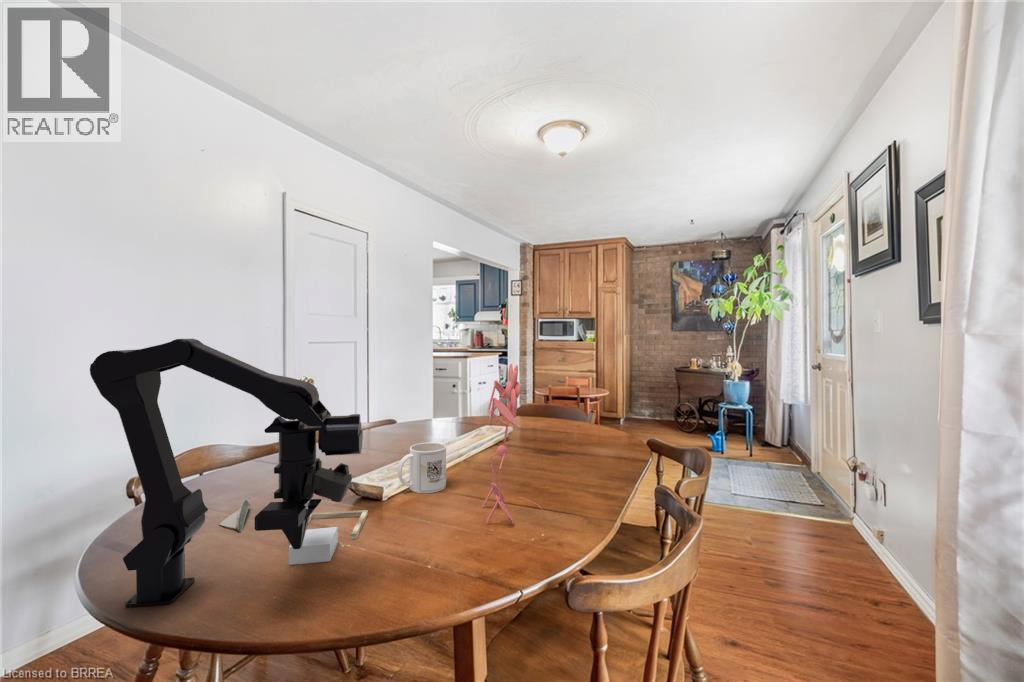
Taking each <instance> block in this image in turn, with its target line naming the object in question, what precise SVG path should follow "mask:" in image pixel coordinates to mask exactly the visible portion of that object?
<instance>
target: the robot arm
mask: <svg viewBox="0 0 1024 682" xmlns="http://www.w3.org/2000/svg"><path fill="white" fill-rule="evenodd" d="M181 366H184V367H186V368H189V369H190V370H193V371H196V372H198V373H199V374H203V375H204V376H207V377H209V378H212V379H214V380H216V381H218V382H221V383H224V384H226V385H229V386H230V387H232V388H236V389H238V390H240V391H242V392H245V393H247V394H250V395H251V396H253V397H254V398H255V399H257V400H259V402H261V403H262V404H263V406H265V408H267V409H269V410H270V411H271V412H273V413H275V414H277V415H278V416H276V417H274V419H273V421H272V422H271V424H270V425H268V426H267V427H266V428H264V430H263V431H264V433H265V434H273V433H275V434H276V433H278V464H277V465H275V466H274V467H273V474H277V475H278V489H276V490H275V491H274V492H273V499H275V500H276V499H278V500H279V499H282V501H270V502H269V503H268V504H267V505H266V506H264V507H263V509H261V510H260V511H259V512H258V513H257V514H256V515H255V516H254V530H255V531H256V532H258V531H259V532H260V531H278V530H279V531H280V530H281V531H282V532H283V534H284V536H285V538H286V539H287V541H289V542H290V545H291V546H292V547H293V549H300V548H301V546H302V544H303V540H304V536H305V532H306V529H307V527H308V525H309V523H308V521H309V517H310V515H311V513H314V511H315V509H316V508H317V507H318V506H319V504H321V502H322V500H323V499H322V498H314V495H316V496H319V497H323V498H326V499H329V500H331V502H334V503H340V502H342V501H343V500H344V497H345V496H346V495H347V493H348V490H349V487H350V485H351V482H352V481H353V480H352V479H353V477H352V476H353V475H352V474H350V469H349V465H348V464H346V463H342V462H341V463H339V464H338V465H337V466H336V467H335V468H334V469H333V468H332V467H329V468H325V467H323V466H322V464H323V463H322V460H321V458H320V457H317V447H318V450H319V451H320V452H321V453H323V454H324V455H325V456H343V455H345V456H346V455H361V454H362V448H363V439H364V437H363V434H364V431H363V429H362V422H361V414H359V413H353V414H349V415H332V413H331V412H330V411H329V410H328V408H327V407H326V406H325V405H324V404H323V402H322V401H321V400H320V394H319V391H318V388H317V387H316V386H315V385H314V384H312V383H310V382H308V381H304V380H301V379H296V378H293V377H288V376H284V375H277V374H273V373H269V372H267V371H265V370H262V369H261V368H258V367H256V366H254V365H252V364H249V363H246V362H245V361H242V360H240V359H237V358H236V357H233V356H231V355H228V354H227V353H224V352H221V351H220V350H217V349H215V348H213V347H211V346H209V345H207V344H204V343H203V342H201V340H199V339H196V338H176V339H174V340H171V341H170V342H169V341H168V342H166V343H162V344H157V345H153V346H152V345H151V346H148V347H144V348H140V349H139V348H138V349H124V350H108V351H105V352H103V353H101V354H99V355H98V356H97V357H96V358H95V359H94V361H93V362H92V363H90V366H89V374H90V377H91V380H92V382H93V383H94V384H95V385H94V386H96V388H97V391H99V394H100V395H101V396H102V397H103V398H104V399H105V400H106V402H108V403H109V404H110V405H111V406H112V407H113V408H114V409H116V410H117V412H118V415H119V418H120V421H121V424H122V427H123V431H124V433H125V437H126V439H127V443H128V446H129V450H130V453H131V456H132V460H133V463H134V466H135V468H136V472H137V476H138V479H139V482H140V485H141V488H142V491H143V495H144V505H143V509H142V514H141V520H140V524H141V525H140V526H141V533H142V534H141V535H142V540H141V541H140V542H138V544H136V545H135V546H134V547H133V548H132V549H131V550H130V551H129V552H128V553H127V554H126V555H124V556H123V558H122V561H123V563H124V565H125V567H126V569H127V571H135V576H136V577H135V580H136V581H135V584H136V585H135V586H136V587H135V590H136V591H135V592H136V593H135V594H134V595H133V596H132V597H131V598H130V599H128V600H127V601H125V603H124V607H125V608H128V607H145V606H155V605H156V606H158V605H169V604H171V603H173V602H174V601H175V600H176V599H177V598H178V597H180V596H181V594H183V593H184V592H185V591H186V590H187V589H188V588H189V587H190V586H191V585H192V584H193V583H194V582H195V577H185V576H186V575H185V574H186V567H185V566H186V565H185V563H186V559H185V557H186V554H185V546H186V545H187V544H189V543H190V542H191V541H192V539H193V536H195V534H196V533H197V532H198V531H199V530H201V528H202V526H203V525H204V523H205V521H206V513H207V512H208V511H209V508H208V507H207V506H206V505H205V503H204V499H203V492H202V489H200V488H198V489H195V490H194V491H191V490H190V489H188V488H187V486H185V485H184V483H183V482H182V481H183V480H182V478H181V474H180V472H179V471H180V470H179V468H178V465H177V462H176V458H175V455H174V451H173V448H172V445H171V442H170V439H169V436H168V432H167V429H166V425H165V422H164V418H163V416H162V412H161V410H160V406H159V402H158V398H159V394H160V389H161V384H162V377H161V373H162V372H166V371H169V370H172V369H175V368H178V367H181ZM317 432H318V438H317Z"/></svg>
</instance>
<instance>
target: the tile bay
mask: <svg viewBox="0 0 1024 682" xmlns="http://www.w3.org/2000/svg"><path fill="white" fill-rule="evenodd" d="M368 515H369V511H368V510H367V509H366V510H365V509H364V510H363V509H362V510H345V511H344V510H342V511H340V510H339V511H326V512H325V511H324V512H312V513H311V515H310V517H309V521H308V524H310V522H311V521H312V520H316V519H317V520H319V519H335V518H356V517H357V518H358V517H359V518H358V519H357V521H356V524H355V525H354V527H353V530H352V531H351V533H350V540H356V539H357V538H358V536H359V534H360V532H361V529H362V528H363V526H364V523H365V522H366V519H367V517H368ZM287 541H288V540H287ZM287 543H288V544H289V543H290V542H289V541H288V542H287Z"/></svg>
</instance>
